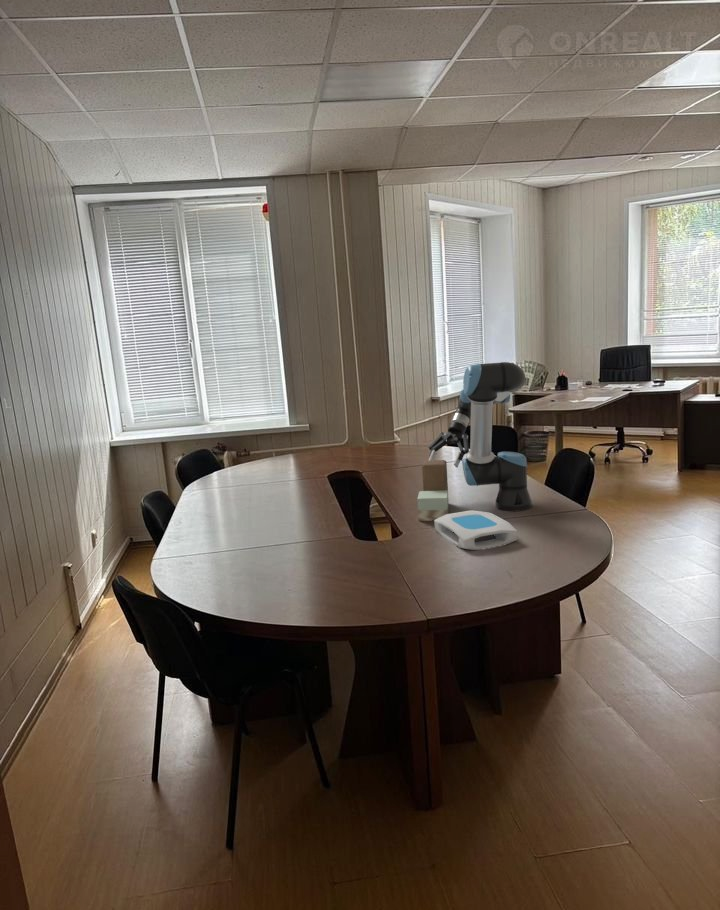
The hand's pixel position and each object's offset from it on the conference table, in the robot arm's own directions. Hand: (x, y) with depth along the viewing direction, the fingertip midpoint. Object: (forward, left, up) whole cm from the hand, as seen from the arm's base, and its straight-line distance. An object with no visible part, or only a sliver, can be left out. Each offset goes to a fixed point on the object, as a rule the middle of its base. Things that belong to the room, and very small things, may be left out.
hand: (442, 464), depth 295 cm
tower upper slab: (-8, +21, -13) cm, 26 cm away
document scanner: (-36, +36, -18) cm, 54 cm away
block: (-1, +8, -17) cm, 19 cm away
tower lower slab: (-8, +21, -18) cm, 28 cm away
